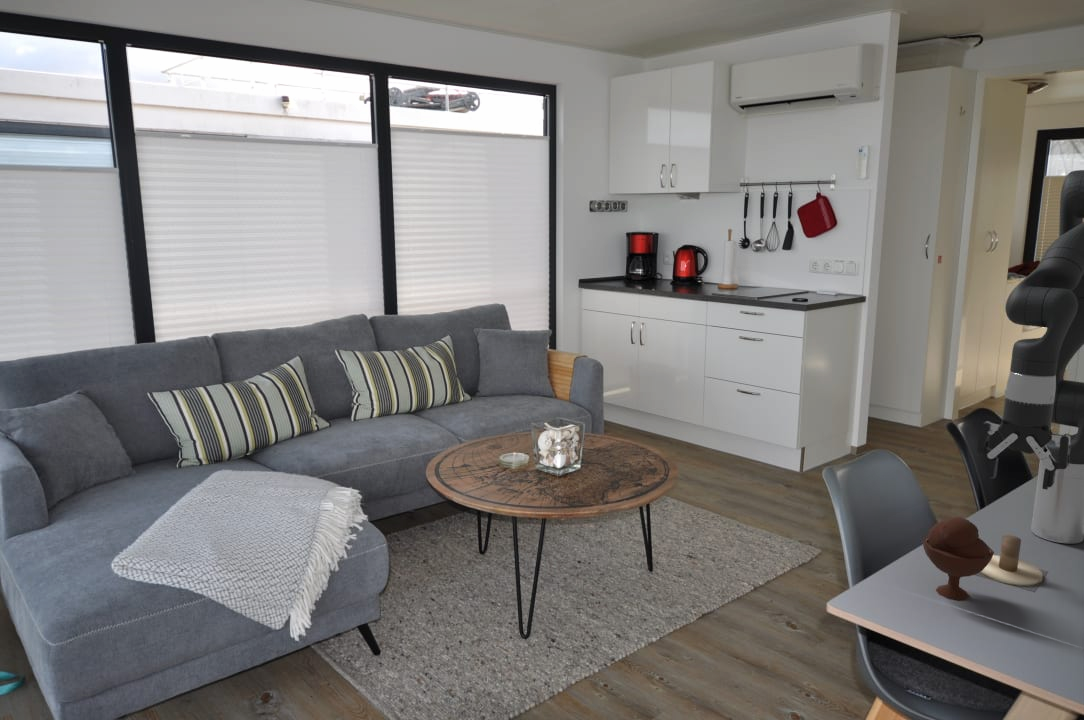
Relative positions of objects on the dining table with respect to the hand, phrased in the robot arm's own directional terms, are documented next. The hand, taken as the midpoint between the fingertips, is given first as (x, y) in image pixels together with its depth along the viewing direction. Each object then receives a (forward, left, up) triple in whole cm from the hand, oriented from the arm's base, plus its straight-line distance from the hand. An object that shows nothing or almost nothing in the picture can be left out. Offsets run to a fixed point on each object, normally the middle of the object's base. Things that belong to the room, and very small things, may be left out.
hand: (1018, 482), depth 141 cm
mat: (0, 0, -18) cm, 18 cm away
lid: (0, 0, -18) cm, 18 cm away
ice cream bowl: (+16, -5, -18) cm, 25 cm away
